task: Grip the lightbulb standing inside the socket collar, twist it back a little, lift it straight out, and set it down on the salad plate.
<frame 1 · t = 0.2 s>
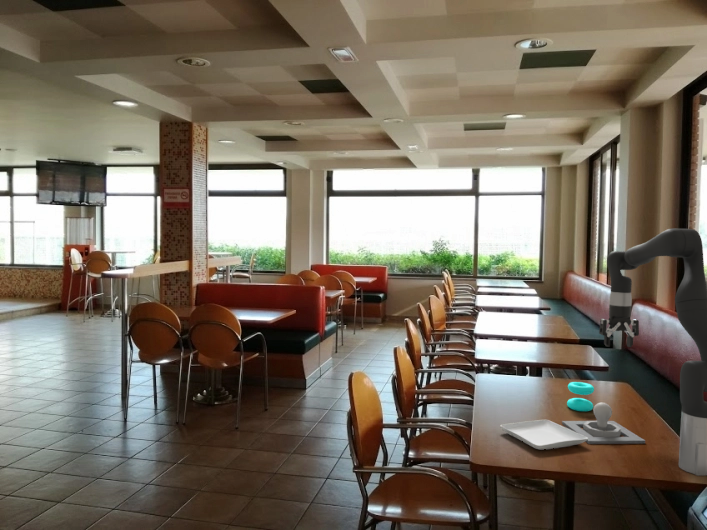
hand: (618, 346, 212), 29 cm above the table, tool pointing down, fingers open, 8 cm apart
bulb socket stand: (601, 433, 199), on the table
donuts: (579, 409, 228), on the table
salad plate: (542, 441, 192), on the table
lightbulb: (601, 433, 199), resting in bulb socket stand
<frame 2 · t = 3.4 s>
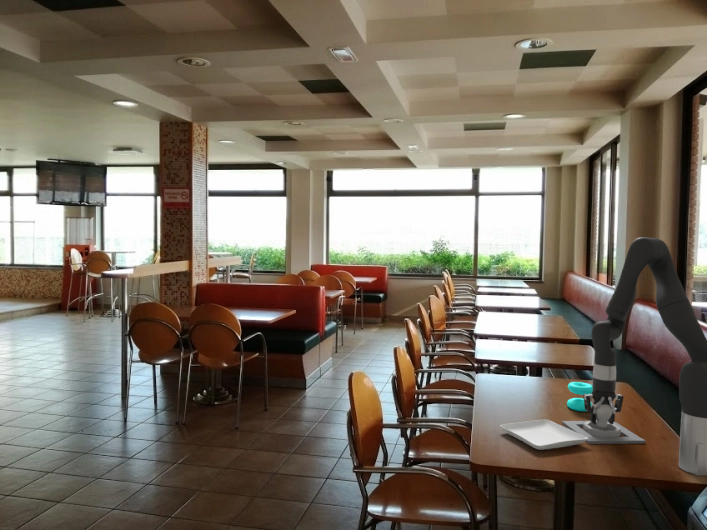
hand: (602, 423, 199), 4 cm above the table, tool pointing down, fingers closed on lightbulb, 5 cm apart
lightbulb: (601, 433, 199), resting in bulb socket stand, touching gripper
everything else where it was.
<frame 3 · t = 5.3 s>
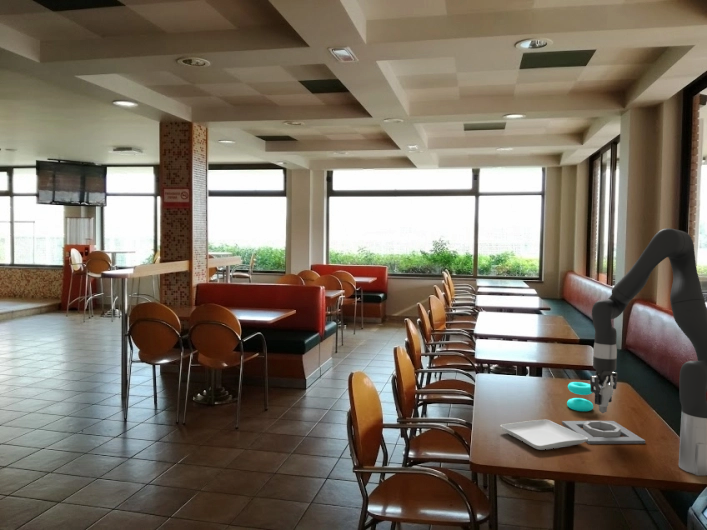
hand: (603, 402, 198), 11 cm above the table, tool pointing down, fingers closed on lightbulb, 5 cm apart
lightbulb: (602, 413, 198), point 7 cm above the table, touching gripper
everything else where it was.
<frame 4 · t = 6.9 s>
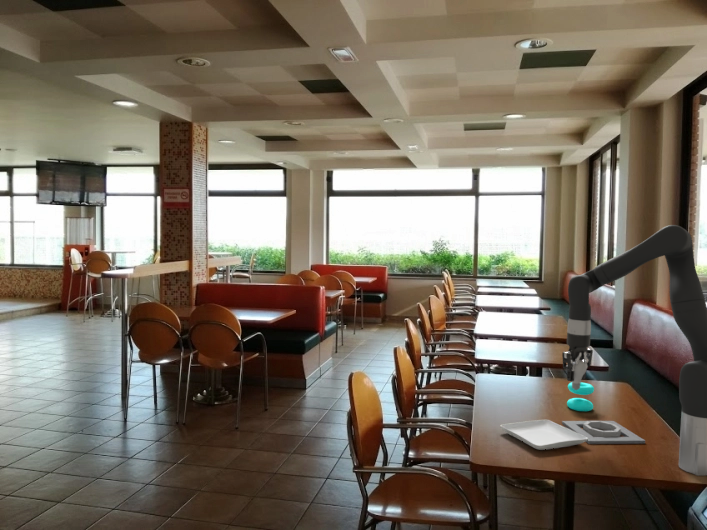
hand: (576, 379, 195), 20 cm above the table, tool pointing down, fingers closed on lightbulb, 5 cm apart
lightbulb: (575, 390, 195), point 16 cm above the table, touching gripper
everything else where it was.
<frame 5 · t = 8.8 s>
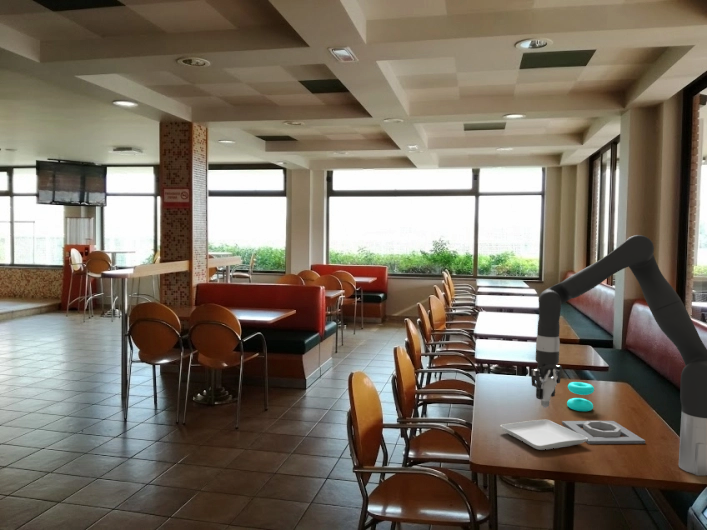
hand: (545, 397, 191), 15 cm above the table, tool pointing down, fingers closed on lightbulb, 5 cm apart
lightbulb: (544, 408, 191), point 11 cm above the table, touching gripper
everything else where it was.
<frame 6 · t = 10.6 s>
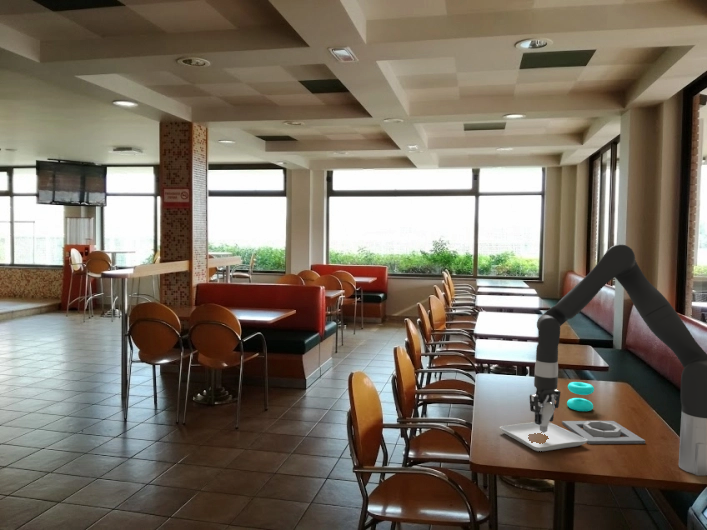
hand: (544, 422, 191), 6 cm above the table, tool pointing down, fingers closed on lightbulb, 5 cm apart
salad plate: (541, 442, 192), on the table, touching lightbulb
lightbulb: (543, 433, 191), point 2 cm above the table, touching gripper, salad plate
everything else where it was.
when the fingers open (6 cm above the table, at t = 10.8 s): lightbulb stays where it is, resting on salad plate.
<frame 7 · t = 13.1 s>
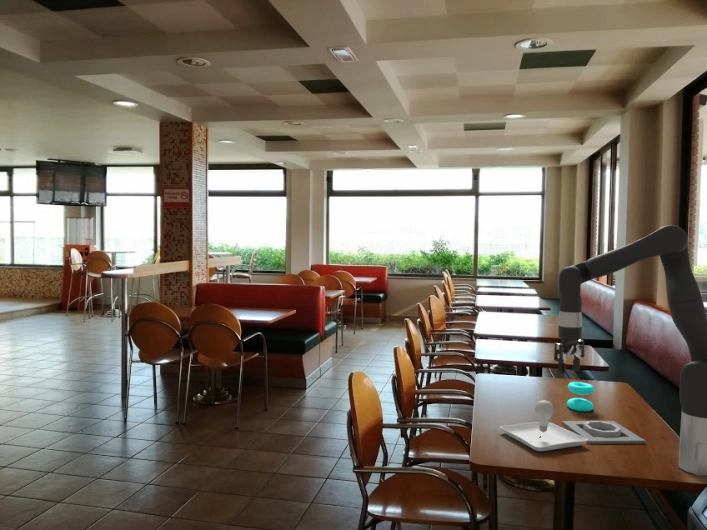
hand: (569, 372, 191), 24 cm above the table, tool pointing down, fingers open, 8 cm apart
lightbulb: (543, 432, 191), point 2 cm above the table, touching salad plate
everything else where it was.
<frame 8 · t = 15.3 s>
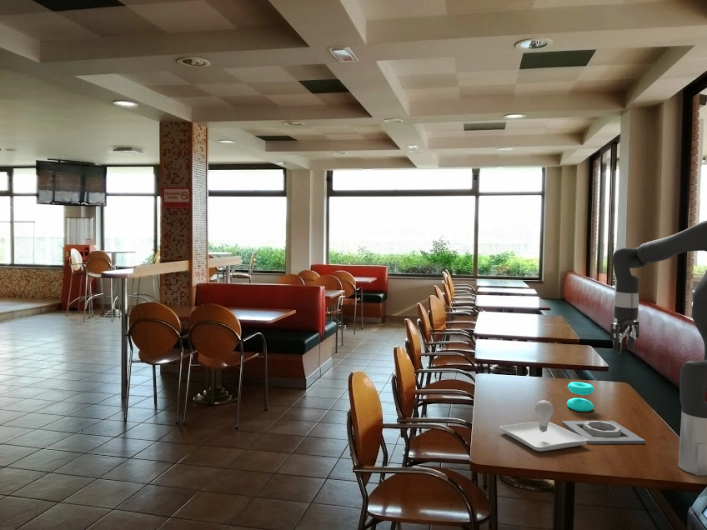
hand: (623, 351, 195), 30 cm above the table, tool pointing down, fingers open, 8 cm apart
nothing on the table moved.
at the end: lightbulb 0.2 cm from the salad plate (horizontally); lightbulb touching salad plate; the gripper is holding nothing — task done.
